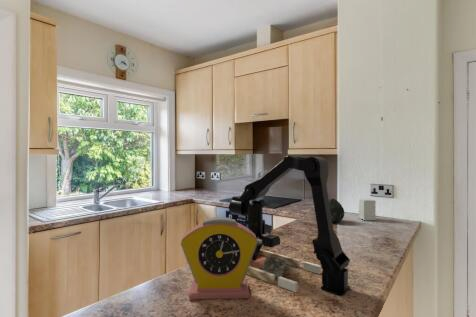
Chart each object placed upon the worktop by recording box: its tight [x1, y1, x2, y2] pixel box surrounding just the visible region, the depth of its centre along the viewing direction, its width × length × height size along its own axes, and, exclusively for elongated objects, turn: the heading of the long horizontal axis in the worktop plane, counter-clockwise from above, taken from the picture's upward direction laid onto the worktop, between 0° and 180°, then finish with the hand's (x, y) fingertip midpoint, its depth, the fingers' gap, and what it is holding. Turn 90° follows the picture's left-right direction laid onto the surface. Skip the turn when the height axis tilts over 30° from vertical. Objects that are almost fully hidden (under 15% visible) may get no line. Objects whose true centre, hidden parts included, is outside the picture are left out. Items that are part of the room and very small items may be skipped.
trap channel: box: [246, 248, 301, 284], centre depth 98 cm, size 18×17×2 cm
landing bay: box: [277, 261, 322, 293], centre depth 89 cm, size 6×17×2 cm, turn 139°
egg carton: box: [260, 254, 287, 279], centre depth 96 cm, size 11×8×4 cm
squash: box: [328, 198, 345, 224], centre depth 167 cm, size 14×15×15 cm
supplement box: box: [358, 198, 376, 221], centre depth 172 cm, size 7×7×13 cm
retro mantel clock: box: [180, 216, 258, 301], centre depth 81 cm, size 22×9×22 cm, turn 93°
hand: (254, 260), depth 101 cm, fingers closed
